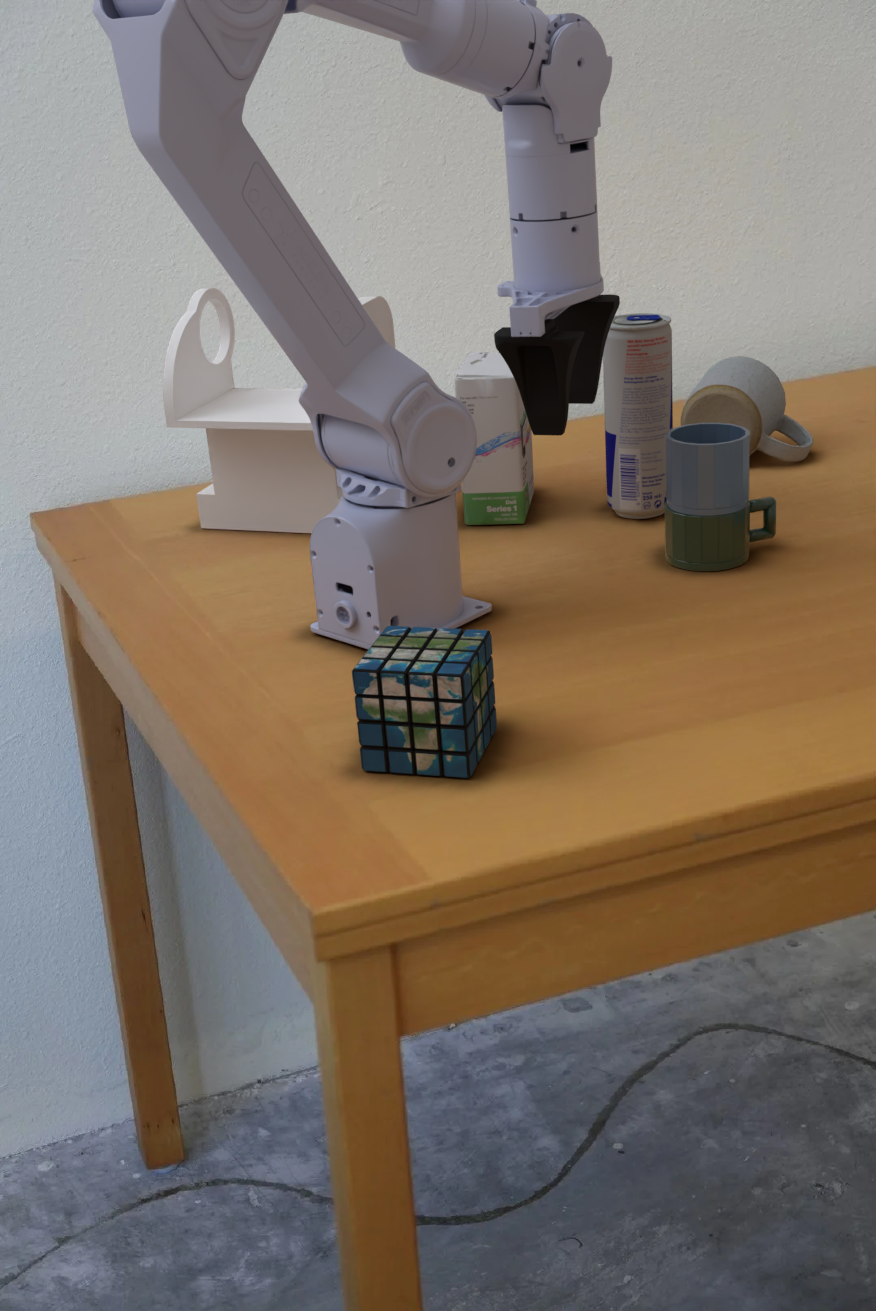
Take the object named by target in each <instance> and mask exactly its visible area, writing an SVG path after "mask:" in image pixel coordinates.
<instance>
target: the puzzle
mask: <svg viewBox="0 0 876 1311" xmlns="http://www.w3.org/2000/svg"><path fill="white" fill-rule="evenodd" d="M492 641H493V640H492V633H491V630H488V629H474V628H473V629H470V628H469V629H468V628H467V629H462V628H455V629H452V628H439V629H438V631H437V629H436V628H428V627H413V628H412V629H411V628H410V627H403V626H387V627H386V628H385V629H384V631H383V632H382V633H381V634H380V636H379V637H378V638H377V639H376V641H375V642H374V643H373V645H372V646H371V647H370V649H369V650H368V649H367V651H366V652H365V653H364V654H363V656H362V657H361V659H360V660H359V661H358V662H357V664H356V665H354V667H353V669H352V670H351V677H352V687H353V688H352V689H353V693H354V694H355V695H354V697H353V698H354V706H355V712H356V713H355V715H356V719H357V722H356V726H357V735H358V743H359V745H360V747H359V754H360V755H359V756H360V764H361V770H362V771H365V772H374V773H375V772H377V773H388V772H389V773H392V774H403V775H415V774H416V775H418V776H419V775H420V776H431V777H432V776H433V777H442V776H443V777H447V778H458V779H470V778H471V777H472V775H473V774H474V772H475V771H476V768H477V766H478V763H479V764H480V761H481V759H482V757H483V755H484V752H485V750H487V748H488V746H489V744H490V742H491V738H493V736H494V734H495V732H496V731H497V729H498V722H497V721H498V720H497V708H496V706H495V705H496V691H495V690H496V689H495V682H494V681H493V680H494V678H495V674H494V658H493V656H492V655H493V643H492Z"/></svg>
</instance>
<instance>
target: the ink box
mask: <svg viewBox="0 0 876 1311" xmlns="http://www.w3.org/2000/svg"><path fill="white" fill-rule="evenodd" d="M455 375H456V376H455V378H454V393H455V398H457V399H458V400H460V401H461V402H463V403H464V405H465V406H466V407H467V408H468V409H469V411H470V413H471V414H472V417H473V419H474V422H475V426H476V432H477V447H476V453H475V457H474V461H473V463H472V466H471V468H470V470H469V472H468V474H467V475H466V477H465V478H464V480H463V481H462V482H461V494H462V506H463V521H464V524H465V525H467V526H477V525H478V526H480V525H481V526H482V525H483V526H484V525H521V524H522V525H523V524H525V522H526V519H527V516H528V512H529V509H530V506H531V504H532V499H533V496H534V493H535V480H534V479H535V478H534V457H533V456H534V455H533V433H532V430H531V427H530V424H529V421H528V418H527V415H526V412H525V408H524V405H523V402H522V398H521V395H520V392H519V389H518V386H517V384H516V381H515V379H514V377H513V375H512V373H511V371H510V369H509V367H508V365H507V363H506V362H505V360H504V359H503V357H502V356H501V354H500V353H499V351H474V352H469V353H468V354H467V356H465V358H464V361H462V363H461V364H460V366H459V367H458V369H457V370H456V372H455Z"/></svg>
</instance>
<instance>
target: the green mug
mask: <svg viewBox="0 0 876 1311" xmlns="http://www.w3.org/2000/svg"><path fill="white" fill-rule="evenodd" d="M664 508H665V512H664V551H665V552H664V553H665V556H664V558H665V561H666V562H667V563H668V564H669V565H671V566H673V567H675V568H678V569H681V570H684V571H685V570H686V571H693V572H720V571H725V570H731V569H735V568H737V567H740V566H742V565H744V564H745V563H746V562H747V561H748V560H749V558H750V545H751V544H750V543H756V542H760V541H766V540H771V539H773V538H775V537H776V534H777V500H776V498H775V497H773V496H765V497H761V498H755V499H749V503H748V505H747V507H745V508H744V509H742V510H740V511H737V512H734V513H730V514H725V515H717V516H694V515H687V514H682V513H678V512H675V511H673V510H671V509H670V508H669V507H668V506H667V501H666V502H665V503H664ZM759 512H762V527H757V528H752V529H751V514H753V513H759Z"/></svg>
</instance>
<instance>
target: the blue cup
mask: <svg viewBox="0 0 876 1311" xmlns="http://www.w3.org/2000/svg"><path fill="white" fill-rule="evenodd" d="M749 453H750V431H749V430H748V429H746V428H745V427H743V426H739V425H735V424H728V423H695V424H687V425H683V426H681V425H679V426H676V427H673V429H671V430H669V431H668V432H667V433H666V499H667V506H668V507H669V508H670V509H671V510H673V511H675V512H678V513H682V514H687V515H694V516H717V515H725V514H730V513H734V512H737V511H740V510H742V509H744V508H745V507H747V505H748V503H749V500H750V456H749Z"/></svg>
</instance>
